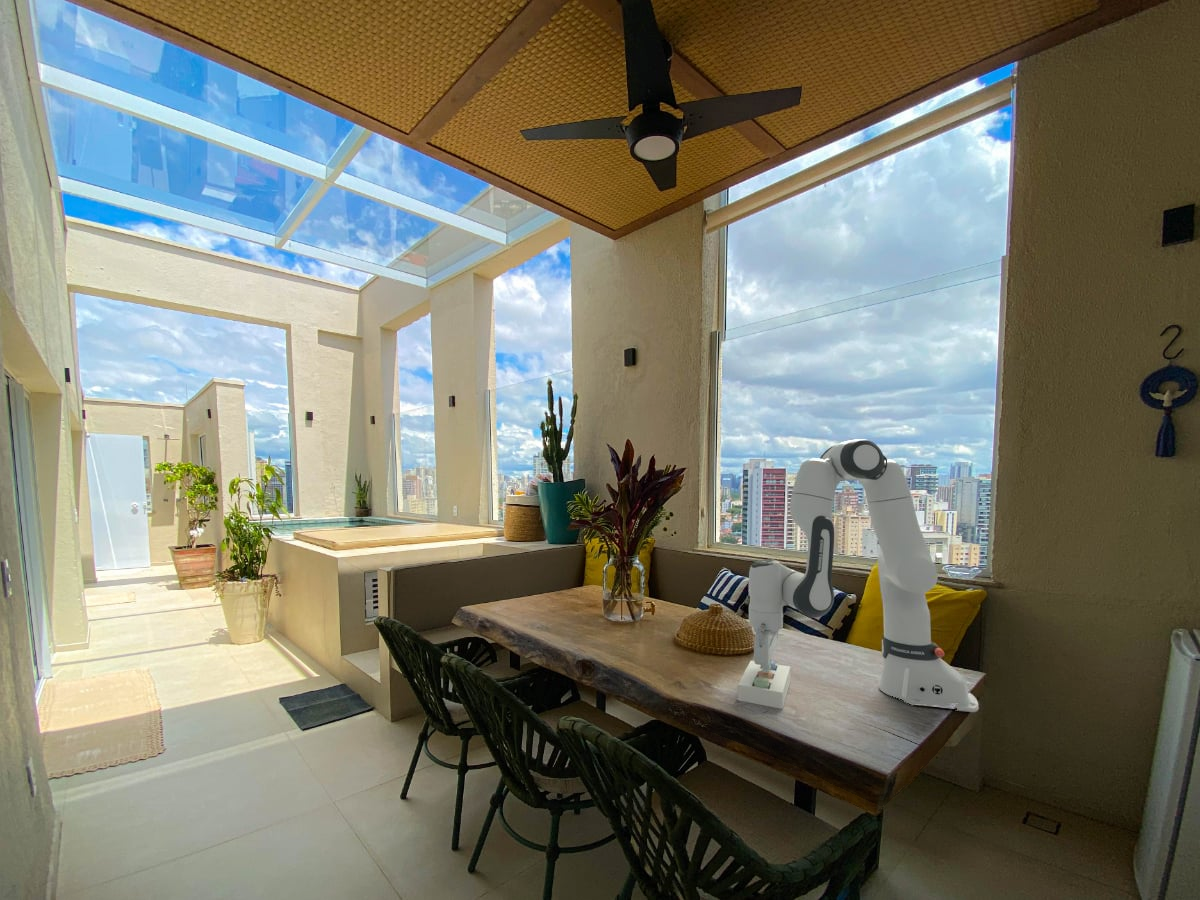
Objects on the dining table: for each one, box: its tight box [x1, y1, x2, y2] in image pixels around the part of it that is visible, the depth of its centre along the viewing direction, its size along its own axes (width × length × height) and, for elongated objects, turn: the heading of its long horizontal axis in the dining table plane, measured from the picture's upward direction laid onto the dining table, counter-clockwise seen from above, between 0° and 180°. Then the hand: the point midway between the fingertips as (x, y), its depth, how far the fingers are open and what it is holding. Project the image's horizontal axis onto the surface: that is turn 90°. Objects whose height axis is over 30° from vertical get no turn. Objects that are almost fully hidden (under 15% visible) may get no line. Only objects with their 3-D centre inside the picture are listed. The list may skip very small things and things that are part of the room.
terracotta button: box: [758, 670, 772, 687], centre depth 139 cm, size 4×4×3 cm
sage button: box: [754, 677, 769, 689], centre depth 133 cm, size 4×4×3 cm
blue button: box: [770, 660, 777, 671], centre depth 145 cm, size 4×4×3 cm
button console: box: [737, 660, 792, 710], centre depth 139 cm, size 11×20×4 cm, turn 154°
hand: (766, 671), depth 139 cm, fingers closed
